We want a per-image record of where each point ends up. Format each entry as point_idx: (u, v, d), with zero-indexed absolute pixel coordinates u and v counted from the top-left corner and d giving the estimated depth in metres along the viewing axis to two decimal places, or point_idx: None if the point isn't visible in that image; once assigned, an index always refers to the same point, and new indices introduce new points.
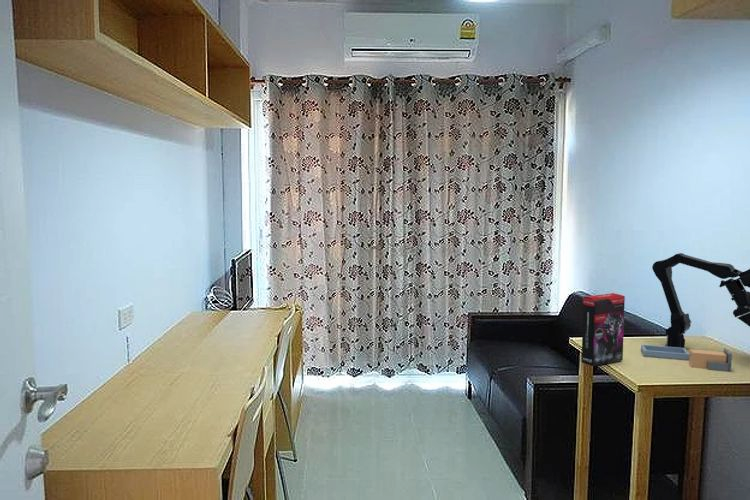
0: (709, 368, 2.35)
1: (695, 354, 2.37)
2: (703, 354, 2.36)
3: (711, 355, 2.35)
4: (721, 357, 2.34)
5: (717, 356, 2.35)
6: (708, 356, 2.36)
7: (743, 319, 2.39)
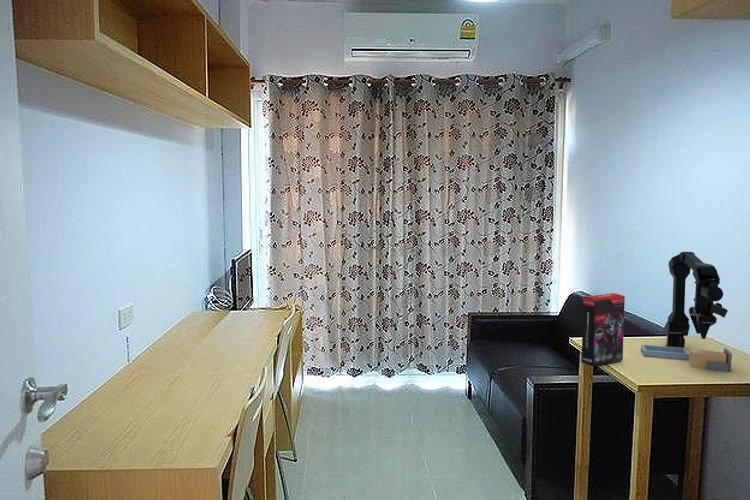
0: (709, 368, 2.35)
1: (695, 354, 2.37)
2: (703, 354, 2.36)
3: (711, 355, 2.35)
4: (721, 357, 2.34)
5: (717, 356, 2.35)
6: (707, 355, 2.36)
7: (700, 325, 2.32)
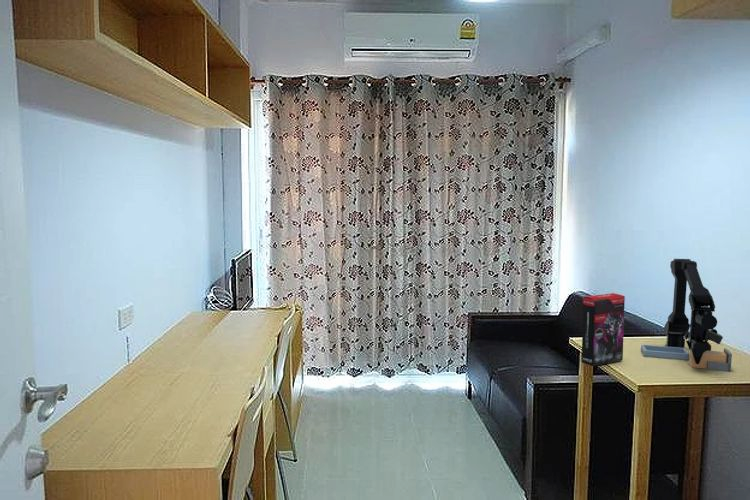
0: (709, 368, 2.35)
1: None
2: (703, 354, 2.36)
3: (711, 355, 2.35)
4: (721, 356, 2.34)
5: (717, 356, 2.35)
6: (708, 355, 2.36)
7: (694, 351, 2.35)
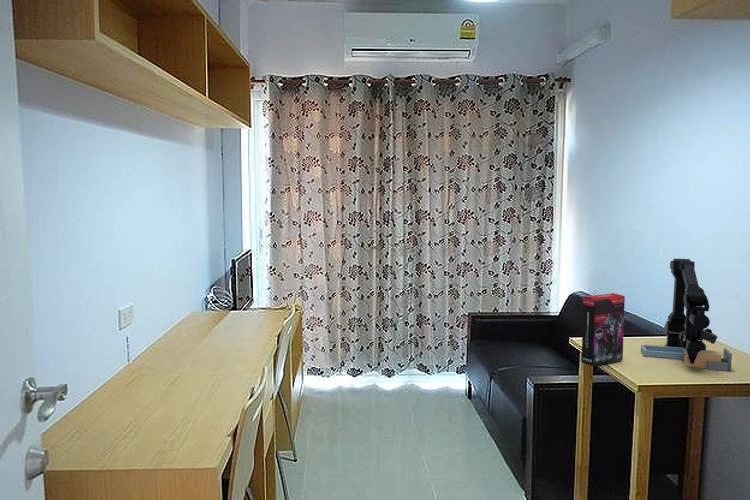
0: (709, 368, 2.35)
1: None
2: (698, 353, 2.37)
3: (706, 354, 2.36)
4: (716, 356, 2.35)
5: (712, 355, 2.35)
6: (703, 355, 2.36)
7: (689, 351, 2.36)
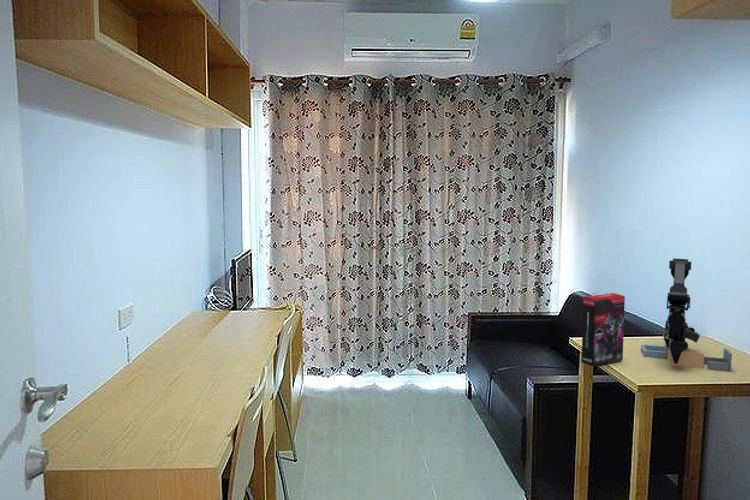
0: (709, 368, 2.35)
1: None
2: None
3: (689, 353, 2.38)
4: (699, 355, 2.37)
5: (695, 354, 2.37)
6: (685, 354, 2.38)
7: (673, 350, 2.36)
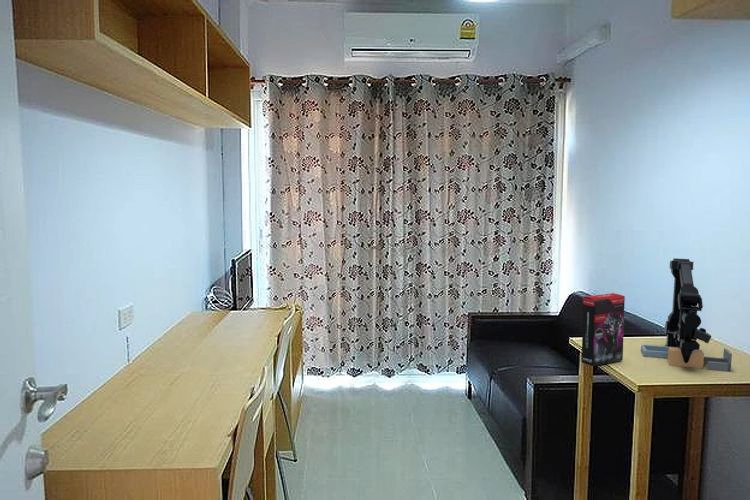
0: (709, 368, 2.35)
1: (673, 352, 2.39)
2: None
3: None
4: (699, 354, 2.37)
5: (695, 354, 2.37)
6: None
7: (683, 350, 2.36)
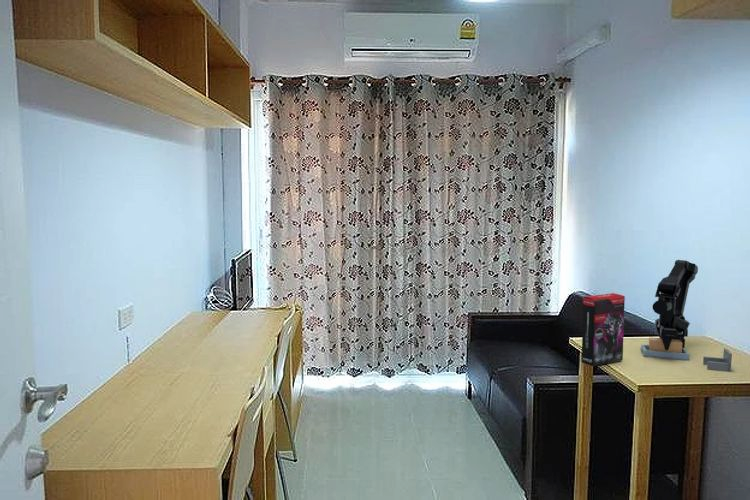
0: (709, 368, 2.35)
1: (653, 341, 2.52)
2: (661, 341, 2.52)
3: None
4: (677, 344, 2.50)
5: (674, 343, 2.50)
6: None
7: (663, 337, 2.47)
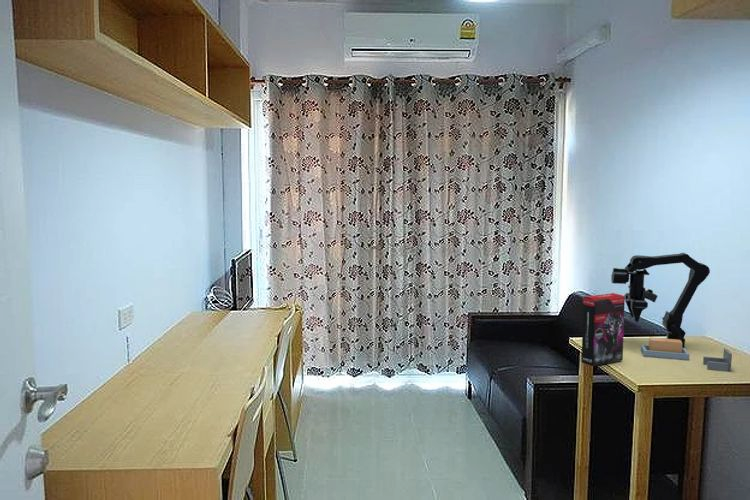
0: (709, 368, 2.35)
1: (653, 341, 2.52)
2: (661, 341, 2.52)
3: (668, 342, 2.51)
4: (677, 344, 2.50)
5: (674, 343, 2.50)
6: (665, 343, 2.51)
7: (634, 310, 2.60)
